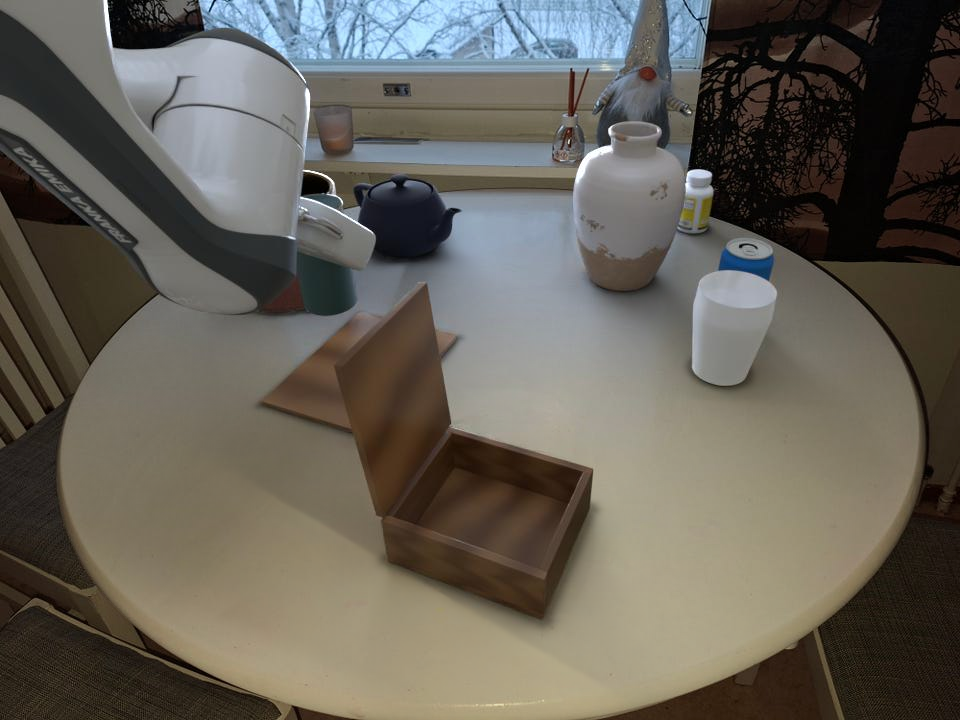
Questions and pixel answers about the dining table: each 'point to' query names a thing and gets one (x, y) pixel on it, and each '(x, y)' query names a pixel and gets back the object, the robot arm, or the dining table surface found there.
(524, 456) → the chest
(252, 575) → the dining table surface
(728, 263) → the beverage can
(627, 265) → the vase
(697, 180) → the supplement bottle
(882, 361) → the dining table surface
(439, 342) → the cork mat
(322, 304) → the tea tin
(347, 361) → the chest lid
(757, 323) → the cup
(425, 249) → the teapot
